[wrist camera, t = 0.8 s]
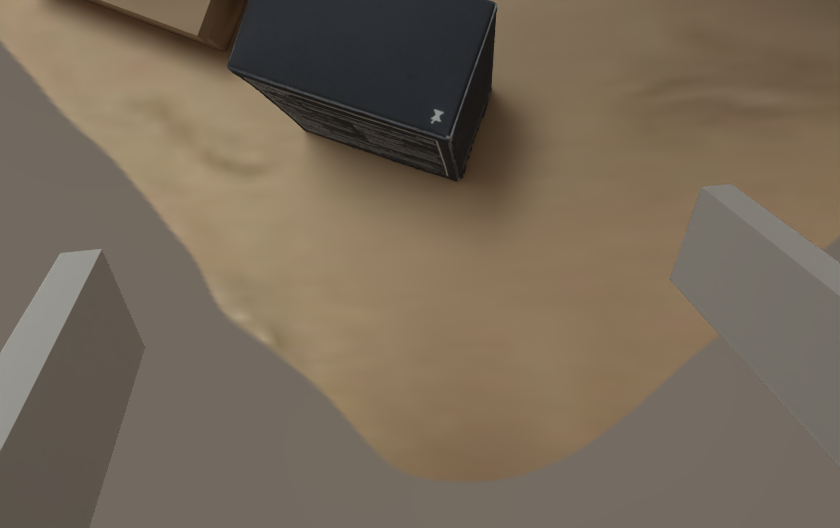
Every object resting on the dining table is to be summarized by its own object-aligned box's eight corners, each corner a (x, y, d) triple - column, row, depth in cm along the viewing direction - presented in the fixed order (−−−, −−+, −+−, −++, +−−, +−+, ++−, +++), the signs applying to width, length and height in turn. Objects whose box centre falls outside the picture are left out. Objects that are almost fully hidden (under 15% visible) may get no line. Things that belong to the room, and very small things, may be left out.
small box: (496, 81, 32) (506, -6, 22) (461, 184, 32) (453, 148, 22) (333, 31, 33) (268, -75, 23) (300, 131, 34) (220, 72, 23)
